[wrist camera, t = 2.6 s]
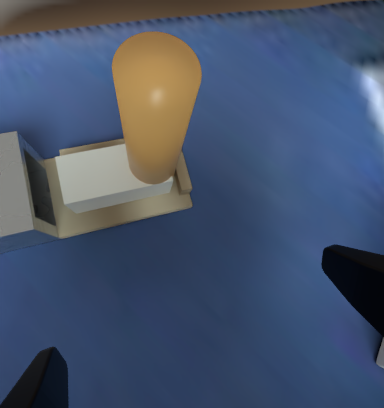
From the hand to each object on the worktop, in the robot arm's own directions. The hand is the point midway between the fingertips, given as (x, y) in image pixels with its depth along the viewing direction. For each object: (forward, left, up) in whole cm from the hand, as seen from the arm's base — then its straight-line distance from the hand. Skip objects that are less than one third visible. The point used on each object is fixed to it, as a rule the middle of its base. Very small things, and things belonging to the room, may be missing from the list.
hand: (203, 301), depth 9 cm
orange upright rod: (+5, +7, -12) cm, 15 cm away
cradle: (+4, +7, -13) cm, 15 cm away
